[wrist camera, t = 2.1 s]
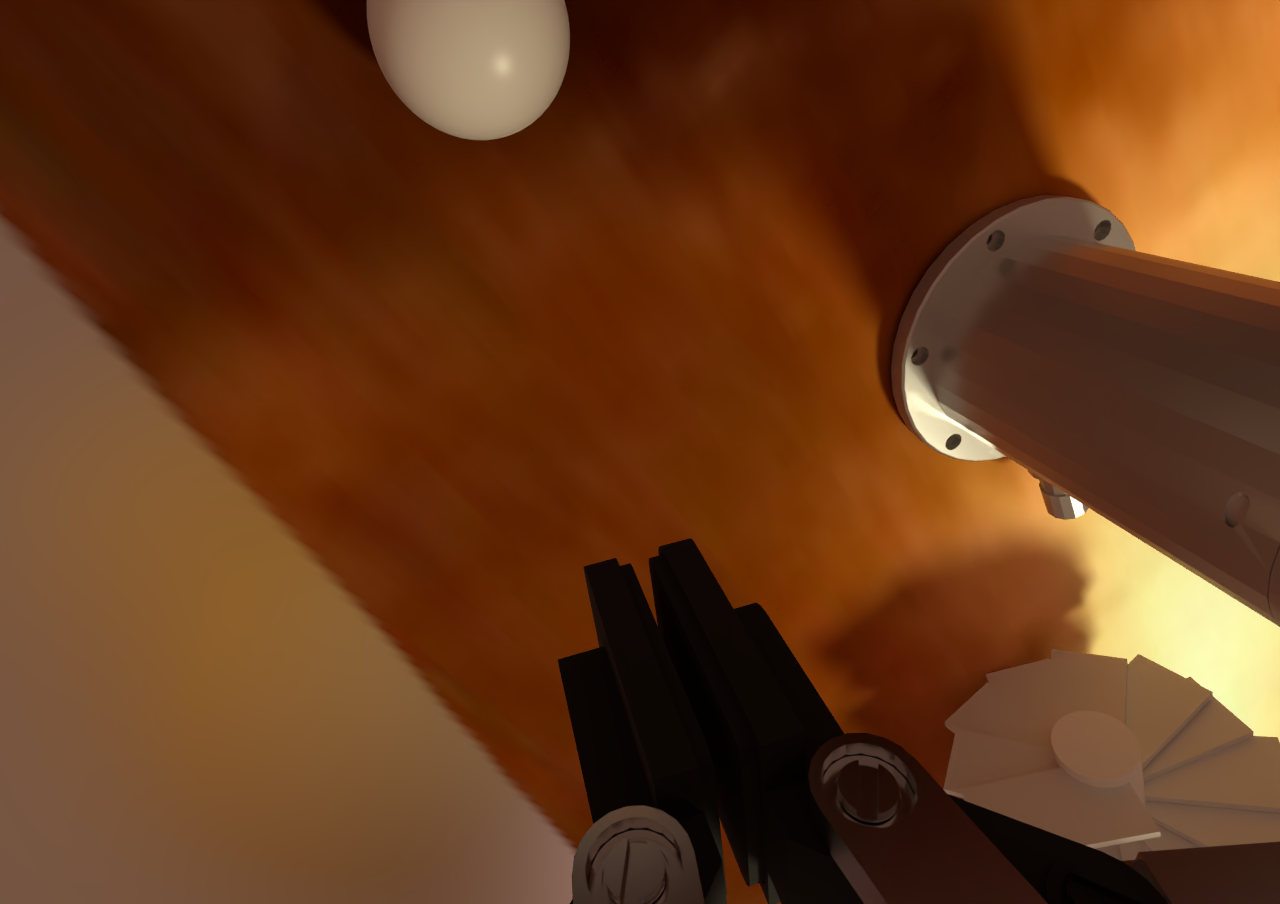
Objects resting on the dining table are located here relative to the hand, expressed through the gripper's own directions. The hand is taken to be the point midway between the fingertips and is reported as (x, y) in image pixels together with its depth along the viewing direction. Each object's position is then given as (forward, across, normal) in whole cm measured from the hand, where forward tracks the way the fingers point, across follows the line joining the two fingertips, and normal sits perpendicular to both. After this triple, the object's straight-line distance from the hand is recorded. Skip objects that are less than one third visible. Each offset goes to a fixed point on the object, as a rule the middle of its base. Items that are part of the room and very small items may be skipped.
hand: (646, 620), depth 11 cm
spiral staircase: (+17, -29, +38) cm, 51 cm away
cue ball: (+14, 0, -10) cm, 17 cm away
